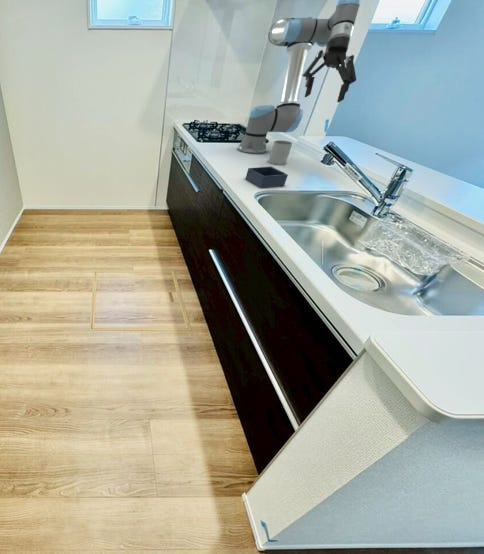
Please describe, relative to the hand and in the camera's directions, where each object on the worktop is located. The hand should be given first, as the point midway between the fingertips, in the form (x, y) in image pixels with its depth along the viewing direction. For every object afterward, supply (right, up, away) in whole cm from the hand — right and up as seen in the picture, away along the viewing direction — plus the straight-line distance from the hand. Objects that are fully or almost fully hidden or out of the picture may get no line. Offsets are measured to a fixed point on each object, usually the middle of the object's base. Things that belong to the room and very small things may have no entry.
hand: (323, 98), depth 121 cm
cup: (+1, -12, +37) cm, 39 cm away
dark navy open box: (-18, -30, +12) cm, 38 cm away
